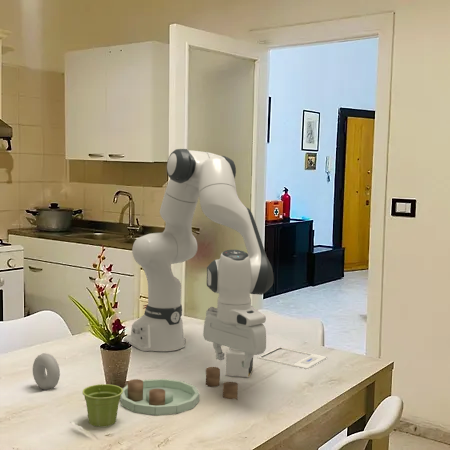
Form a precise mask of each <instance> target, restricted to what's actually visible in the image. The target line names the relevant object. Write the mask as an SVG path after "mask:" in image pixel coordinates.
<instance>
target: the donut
mask: <svg viewBox="0 0 450 450" xmlns="http://www.w3.org/2000/svg"><path fill="white" fill-rule="evenodd" d="M60 370H61V369H60V366H59V363H58V362H57V360H56V357H54V356H53V355H52V354H50V353H47V352H45V353H41V354H39V355H37V356H36V358H35V359H34V361H33V364H32V376H33V379H34V382H35V384H36V385H37V386H38V387H39V388H40V389H42V390H44V391H49V390H53V389H55V388H56V386H57V385H58V384H59V380H60V376H61V373H60Z"/></svg>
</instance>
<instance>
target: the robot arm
mask: <svg viewBox="0 0 450 450" xmlns="http://www.w3.org/2000/svg"><path fill="white" fill-rule="evenodd" d="M236 167H237V166H236V164H235V162H234V160H232V159H231V158H229V157H227V156H225V155H219V154H218V153H217V154H216V153H213V152H209V151H200V150H193V149H190V150H189V149H187V148H177V149H174V150H173V151H172V152H171V153H170V154H169V156H168V159H167V161H166V173H167V176H168V177H169V180H168V182H167V186H166V188H165V191H164V194H163V198H162V201H161V204H160V205H161V206H160V209H159V214H160V215H159V216H160V217H161V218H162V220H163V221H164V222H165V228H164V230H163V231H162V232H153V233H152V232H151V233H148V234H144V235H141V236H139V237H137V238H136V239H135V240H134V242H133V245H132V248H131V249H132V251H131V252H132V257H133V260H134V261H135V262H136V263H137V264H138V265H139V266H140V267H141V268H142V269H143V271H144V273H145V276H146V280H147V294H148V295H147V304H144V305H143V307H142V309H143V310H144V309H145V310H144V313H143V315H141V317H139V318H138V319H137V320H136V321H134V322H133V323H132V325H131V331H130V334H128V335H127V336H124V337H125V338H123V341H124V342H126V341H127V342H126V343H128V342H129V343H131V344H132V345H131V344H130V345H131V346H133V347H134V348H136V349H138V350H140V351H143V352H147V351H148V352H150V351H152V352H171V351H178V350H181V349H183V348H185V342H186V337H184V325H183V324H184V323H183V318H182V315H183V306H182V283H181V281H180V279H179V278H177V277H176V276H174V274H173V270H172V265H174V264H181V263H184V262H187V261H189V260H190V259H192V258H194V257H195V256H196V255H197V252H198V241H197V239H196V237H195V236H194V234H193V228H192V226H193V220H194V215H195V213H196V209H197V205H198V201H199V205H200V209H201V211H202V213H203V215H204V216H205V217H207V218H208V219H209V220H211V221H212V222H213V223H216V224H219V225H222V226H224V227H227V228H230V229H232V230H234V231H236V232H237V233H239V234H240V236H241V237H242V239H243V242H244V245H245V248H246V251H247V252H246V251H244V250H241V249H227V250H224V251H222V252H221V254H220V257H219V259H218V258H217V259H214V260H213V261H211V262H210V263H209V264H208V265H207V267H206V287H207V288H208V289H209V290H210V291H212V292H213V293H214V294H218V298H217V307H214V306H210V307H208V309H207V310H206V312H205V319H204V323H203V329H202V335H203V339H204V340H205V341H207V342H211V343H212V346H213V349H214V351H215V354H216V355H215V359H216V360H218V361H223V360H225V356H226V353H225V352H223V349H222V346H223V347H227V348H233V349H236V350H240V351H243V352H245V356H246V358H245V360H244V361H242V363H241V364H242V365H241V366H242V368H245V369H247V368H250V361H251V360H252V358H253V359H254V356H258V355H263V354H264V352H265V351H266V349H267V329H266V326H265V325H264V324H265V323H266V320H267V319H266V315H265V314H264V313H263V312H261V311H259V310H258V309H256V308H255V307H254V306H253V305H252V299H251V295H264V294H265V293H267V292H268V291H269V290H270V289H271V288H272V286H273V284H274V280H275V279H274V276H275V275H274V272H273V271H274V270H273V267H272V264H271V263H270V262H271V261H269V258H268V257H267V254H266V251H265V248H264V244H263V241H262V237H261V235H260V232H259V230H258V226H257V223H256V221H255V217H254V215H253V212H252V210H251V209H250V208H249V207H247V206H245V205H244V203H243V202H242V201H241V199H240V198H239V195H238V191H237V186H236V185H237V184H236V176H237V175H236V173H237V169H236ZM125 340H126V341H125ZM129 343H128V344H129Z"/></svg>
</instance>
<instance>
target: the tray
mask: <svg viewBox="0 0 450 450" xmlns="http://www.w3.org/2000/svg"><path fill="white" fill-rule="evenodd" d="M141 380H142V379H141ZM142 381H143V400H141V401H137V402H134V401H132V400H130V399H128V398H127V397H128V384H126V385H125V386H124V387H122V389H123V393H122V394H121V397H120V400H119V401H120V404H121V406H122V407H123V408H125V409H127V410H129V411H131V412H133V413H137V414H138V413H139V414H144V415H152V416H164V415H166V416H167V415H177V414H180V413H184V412H186V411H189V410H193V409H194V407H196V406H197V404H199V402H200V392H199V390H198V388H197V387H196V386H195V385H193V384H190V383H188V382H185V381H182V380H179V379H177V380H176V379H171V378H169V379H168V378H155V379H153V378H152V379H150V378H149V379H143V380H142ZM152 389H163V390H165V405H158V406H155V405H149V391H150V390H152Z"/></svg>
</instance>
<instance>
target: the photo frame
mask: <svg viewBox="0 0 450 450" xmlns="http://www.w3.org/2000/svg"><path fill="white" fill-rule="evenodd" d="M279 349H281V350H282V351H287V352H292V353H296V354H297V353H298V354H301V353H302V354H301V355H305V354H307V356H306V357H304V358H302V359H300V360H298V361H297V362H294V363H290V362H284V361H280V360H275V359H271V358H267V357H263V356H266V355H268V354H270V353H272V352H274V351H276V350H279ZM326 358H327V359H328V356H324V355H319V354H317V353H316V354H315V353H311V352H305V351H301V350H296V349H291V348H287V347H286V348H285V347H282V346H278V347H276V348H274V349H272V350H269V351H267V352H265V353H262V354H260V355H259V356H258V355H257V359H259V360H263V361H267V362H271V363H276V364H281V365H286V366H289V367H293V368H294V367H295V368H297V367H299V368H298V369H302V368H304V369H303V370H306V369H308V370H310V369H311V368H313V367H315V366H316V364H317V363H318V364H320V363H322V362H323V360H324V359H325V360H327V359H326ZM325 360H324V361H325ZM321 361H322V362H321ZM319 362H320V363H319ZM318 364H317V365H318ZM314 365H315V366H314ZM312 366H313V367H312ZM309 368H310V369H309Z"/></svg>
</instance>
